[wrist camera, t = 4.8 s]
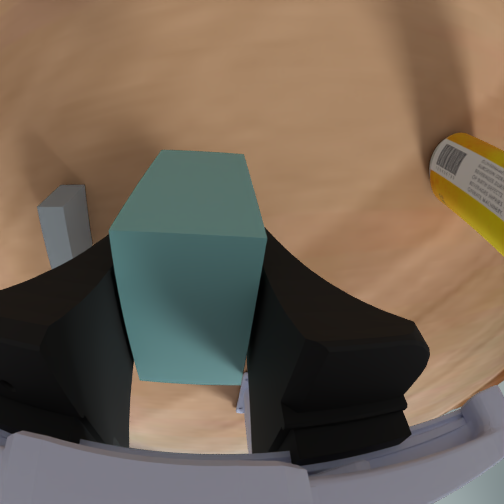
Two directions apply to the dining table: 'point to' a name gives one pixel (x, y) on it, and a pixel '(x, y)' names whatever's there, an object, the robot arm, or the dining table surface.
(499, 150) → the beer can
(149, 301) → the block
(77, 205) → the grey bricks
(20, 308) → the robot arm
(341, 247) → the dining table surface
